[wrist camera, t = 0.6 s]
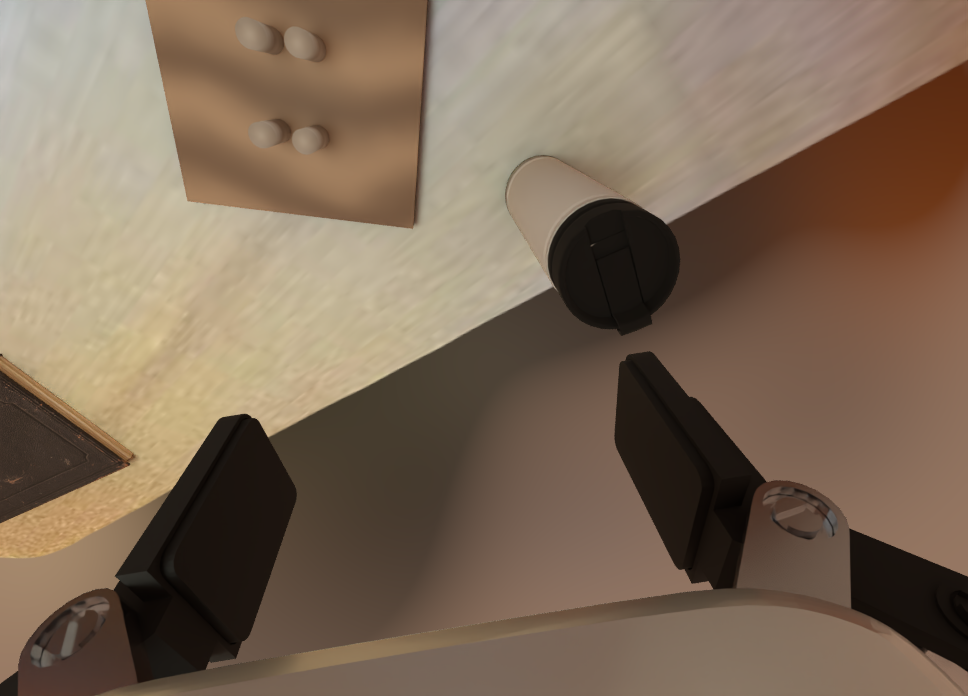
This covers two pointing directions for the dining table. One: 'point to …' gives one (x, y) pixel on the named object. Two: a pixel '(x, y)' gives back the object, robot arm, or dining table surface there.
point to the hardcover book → (46, 445)
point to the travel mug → (593, 244)
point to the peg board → (296, 103)
